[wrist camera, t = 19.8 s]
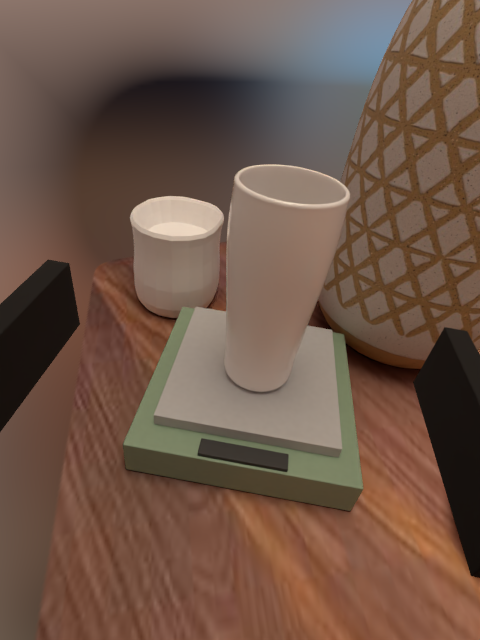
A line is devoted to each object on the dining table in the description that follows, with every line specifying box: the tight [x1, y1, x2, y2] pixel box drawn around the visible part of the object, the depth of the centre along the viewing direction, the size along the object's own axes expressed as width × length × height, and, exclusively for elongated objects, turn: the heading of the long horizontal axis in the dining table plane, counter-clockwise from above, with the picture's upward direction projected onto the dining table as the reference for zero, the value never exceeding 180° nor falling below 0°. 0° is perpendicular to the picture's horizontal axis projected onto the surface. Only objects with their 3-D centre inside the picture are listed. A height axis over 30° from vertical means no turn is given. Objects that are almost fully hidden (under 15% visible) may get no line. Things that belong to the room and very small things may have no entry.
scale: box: [123, 307, 363, 511], centre depth 33 cm, size 16×16×4 cm
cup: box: [130, 196, 224, 318], centre depth 42 cm, size 10×10×10 cm
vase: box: [318, 0, 480, 369], centre depth 33 cm, size 19×19×38 cm
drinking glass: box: [224, 164, 350, 392], centre depth 27 cm, size 7×7×15 cm
